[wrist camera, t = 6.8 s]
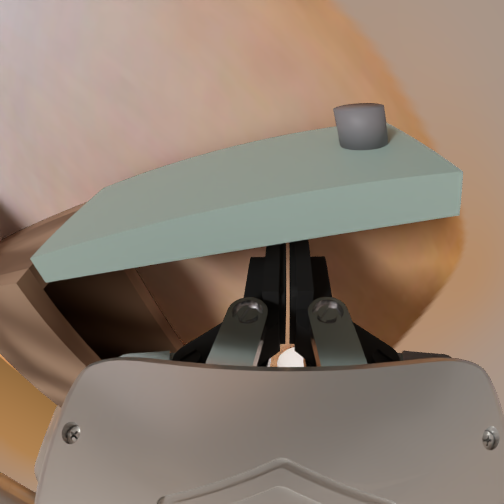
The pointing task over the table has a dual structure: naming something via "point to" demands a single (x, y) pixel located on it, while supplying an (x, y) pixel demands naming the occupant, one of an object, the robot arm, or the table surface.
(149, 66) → the table surface
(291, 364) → the lidless jar
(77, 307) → the case
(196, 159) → the door
